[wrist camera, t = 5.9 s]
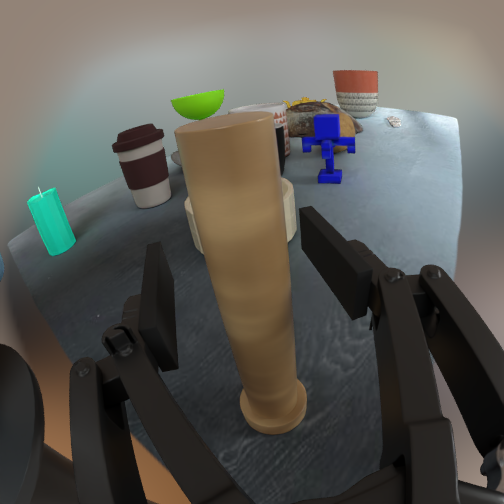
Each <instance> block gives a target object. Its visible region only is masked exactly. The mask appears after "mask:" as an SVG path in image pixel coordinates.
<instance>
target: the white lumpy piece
mask: <svg viewBox="0 0 504 504" xmlns="http://www.w3.org/2000/svg"><path fill="white" fill-rule="evenodd" d="M387 120H389V122H390V123H391V125H393V126H394V127H400V126H401V124H400V123H401V120H400V119H399V118H396V117H394V116H391V117H389V118H387ZM392 121H394V122H392Z"/></svg>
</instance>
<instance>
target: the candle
mask: <svg viewBox="0 0 504 504" xmlns="http://www.w3.org/2000/svg"><path fill="white" fill-rule="evenodd" d="M38 188H39V187H38ZM39 191H40V189H39ZM27 204H28V206H29V209H30V211H31V214H32V216H33V219H34V221H35V224H36V226H37V228H38V231H39V233H40V235H41V237H42V239H43V242H44V244H45V246H46V248H47V250H48V252H49V254H50V255H52V256H55V255H59V254H61V253H63V252H65V251H67V250H68V249H69V248H71V247H72V246H73V245H74V243H75V242H76V239H75V237H74V234H73V232H72V230H71V227H70V225H69V222H68V220H67V217H66V215H65V212H64V210H63V207H62V205H61V202H60V200H59V196H58V194H57V191H56V188H51V189H50V190H47V191H46V192H43V193H41V192H40V194H38V195H35V196H33V197H31V198H30V199H29V200H28V202H27Z"/></svg>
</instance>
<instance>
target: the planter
mask: <svg viewBox="0 0 504 504" xmlns="http://www.w3.org/2000/svg"><path fill="white" fill-rule="evenodd" d="M333 76H334V81H335V88H336V95H337V100H338V103H339V106H340V108H341V109H342V110H344V111H345V112H347V113H348V114H350V115H351V116H352V117H354V118H365V117H368V116H370V115H371V114H372V113H373V112H374V111H375V110H376V107H377V103H378V72H377V71H356V70H355V71H354V70H353V71H352V70H348V71H347V70H344V71H343V70H340V71H333Z"/></svg>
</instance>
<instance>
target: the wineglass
mask: <svg viewBox="0 0 504 504" xmlns="http://www.w3.org/2000/svg"><path fill="white" fill-rule="evenodd" d="M223 99H224V89H223V90H216V91H211V92H206V93H200V94H195V95H190V96H186V97H182V98H177V99H173V100H171V102H172V105H173V107H174V109H175V110H176V111H177V112H178V113H179V114H180V115H181V116H183V117H185V118H188V119H194V120H203V119H205V118H207V117H209V116H211V115H213V114H214V113H215V112H216V111H217V110H218V109H219V108H220V106H221V104H222V103H223Z"/></svg>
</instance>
